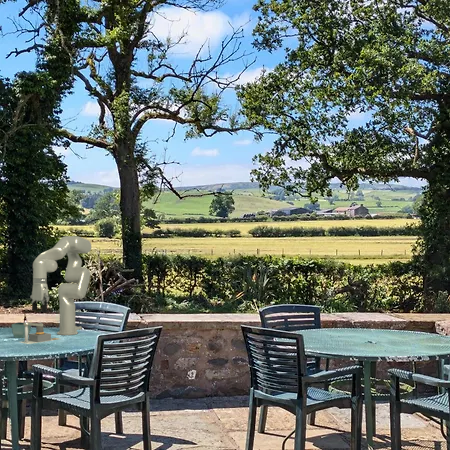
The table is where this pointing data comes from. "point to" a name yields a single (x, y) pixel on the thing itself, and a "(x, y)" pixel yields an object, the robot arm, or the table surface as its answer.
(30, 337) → the socket plate
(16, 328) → the flower pot
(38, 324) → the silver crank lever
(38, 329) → the plug
